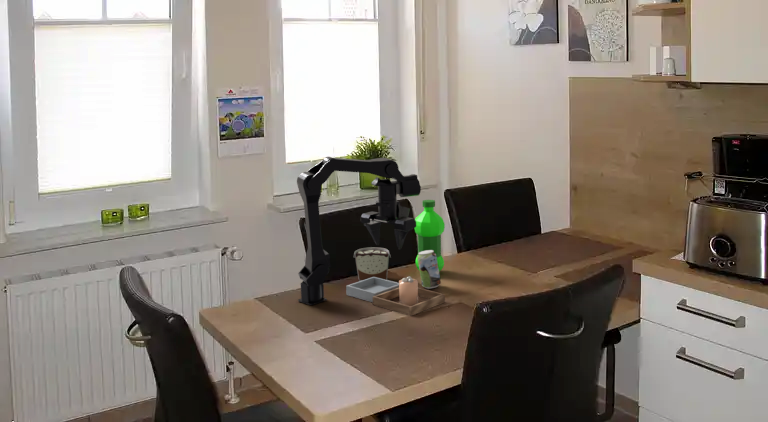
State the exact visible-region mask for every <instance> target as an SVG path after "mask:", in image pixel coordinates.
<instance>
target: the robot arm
mask: <svg viewBox="0 0 768 422" xmlns="http://www.w3.org/2000/svg"><path fill="white" fill-rule="evenodd" d="M334 172H345V173H347V172H348V173H349V172H350V173H363V174H371V175H374V176H376V177H375V179H373V181H371V182H370V183H371V185H372V186H375V187H377V194H378V195H377V196H378V199H377V202H375V207H378V212H377V211H368V212H365V213H362V214H361V216H360V223H361V224H363V226H364V227H366V229H367V231H368V232H369V234H370V236H371V238H372V240H373V242H374V244H375V245H376V246H380V241H381V239H380V237H381V230H380V229H381V225H383V224H388V225H394V228H395V229H394V236H395V241H396V247H397V250H398V251H399V250H402V247H403V245H404V242H405V239H406V236H407V234H408V233H409V232H410V231H412V230H413V229H414V228H415V227H416V220H415V219H416V218H414V217H409V214H410V210H411V208H409V207H406V206H402V205H401V202H400V201H399V200H397V195H399V197H400V198H407V197H408V198H409V197H417V196H420V195H421V190H422V187H421V184H420V181H419V179H418V174H413V173H411V174H409V175H404V174H402V172H401V171H400V170H399V165H398V163H397V161H395V160H393V159H389V158H386V157H377V158H372V159H354V158H341V157H331V156H326V157H324V158H323V159H322V160H321V161H319V162H318V163H317V164H315V165H313V166H312V167H310V168H309V169H308V170H307V171H303V172H301V173H299V175H298V176H297V179H296V185H297V188H298V193H299V194H300V197H301V199H302V202H303V210H304V218H305V229H306V231H305V232H306V238H307V250H306V254H305V260H304V261H305V263H304V266H303V267H302V268H301V269H300V271H298V273H297V274H298V276H299V279H300V280H302V282H300V296H301V297H300V298H299V299H298V300H297V302H299V303H303V304H306V305H309V306H313V305H317V304H320V303H323V302H326V301H327V300H328V299H327V298H326V297H325V290H324V282H325V278H326V277H327V276H328V274H329V272H330V268H332V265H331V261H330V260H331V255H330V253H328V252H327V250H325V249H324V248H323V239H322V227H321V219H320V217H321V216H320V207H319V206H320V205H319V202H320V198H321V195H322V186H323V184H325V182H327V181H328V180H329V178H330V176H332V174H333V173H334ZM377 176H379V177H377ZM380 177H382V179H381V178H380ZM383 178H385V179H383ZM391 179H393V181H392V180H391Z"/></svg>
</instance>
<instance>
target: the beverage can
mask: <svg viewBox="0 0 768 422" xmlns="http://www.w3.org/2000/svg"><path fill="white" fill-rule="evenodd" d="M418 254H419V255H418ZM417 255H418V257H417V256H416V257H417V259H418V264H419V270H420V271H419V270H418V271H419V276H420V281H421V286H422V288H424V289H426V290H429V289H434V288H437V287H439V286H440V285H441V283H442V282H441V277H440V276H441V275H440V271H439V269H438V263H437V257H436V254H435V253H434V251H433V250H425V251H421V252H419V253H418V252H417Z"/></svg>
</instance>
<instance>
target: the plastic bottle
mask: <svg viewBox="0 0 768 422" xmlns="http://www.w3.org/2000/svg"><path fill="white" fill-rule="evenodd" d="M421 203H422V207H423V211H422V212H421V213H420V214H418V216H416V217H415V218H414V219H415V220H416V227H415V228H413V229H414V233H415V234H416V235H417V255H416V258H415V266H416V269H417V270H418V272H420V270H419V264H418V259H417V257H418V255H419V254H418V253H419V252H421V251H425V250H433V251H434V253H435V254H436V257H437V263H438V269H439V272H441V271H442V269H443V268H444V265H445V260H444V258H443V255H442V234H443V233H444V231H445V227H446V226H445V225H446V224H445V221H444V219H443V217H442V216H441V215H439V214H438V212H437V211H434V210H435V209H434V208H436V201H435V199H424V200H422V202H421Z"/></svg>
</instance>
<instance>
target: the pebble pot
mask: <svg viewBox="0 0 768 422" xmlns="http://www.w3.org/2000/svg"><path fill="white" fill-rule="evenodd" d="M398 283H399V296H398V297H399V303H401V304H404V305H408V306H413V305H415V304H418V303H419V296H418V288H419V287H418V286H419V283H418V279H415V278H412V276H407V277H403V278H402V279H399V280H398Z"/></svg>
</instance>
